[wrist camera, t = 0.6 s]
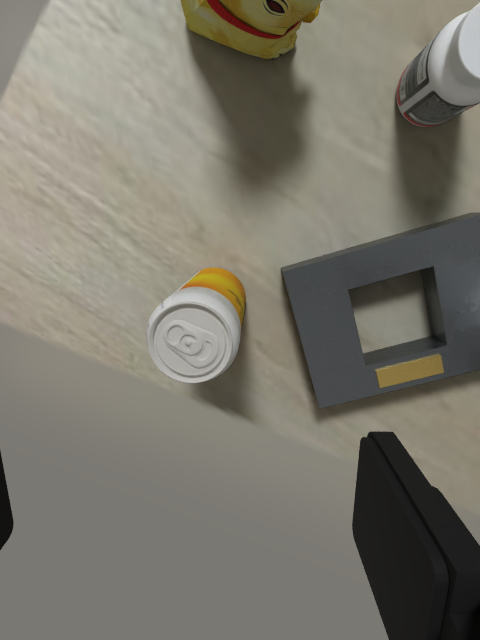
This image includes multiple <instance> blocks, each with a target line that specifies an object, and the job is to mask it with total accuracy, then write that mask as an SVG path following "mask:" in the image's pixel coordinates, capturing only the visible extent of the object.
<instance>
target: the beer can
mask: <svg viewBox="0 0 480 640" xmlns="http://www.w3.org/2000/svg"><path fill="white" fill-rule="evenodd" d="M245 302H246V296H245V291H244V288H243V285H242V284H241V282H240V280H239V279H238V278H237V277H236V276H235V275H234V274H232V273H231V272H229V271H227V270H225V269H221V268H207V269H203V270H201V271H199V272H197V273H196V274H195V275H193V276H192V277H191V278H190V279H189V280H188V281H186V282H185V283H184V284H183V285H182V286H181V287H179V288H178V289H177V290H176V291H175V292H174V293H172V294H171V295H170V296H169V297H168V298H167V299H165V300H164V301H163V302H162V303H161V304H160V305H159V306H158V307H157V308H156V309H155V310H154V312H153V313H152V315H151V317H150V319H149V322H148V326H147V333H146V336H147V345H148V348H149V352H150V355H151V358H152V360H153V361H154V363H155V364H156V366H157V367H158V368H159V369H160V370H161V371H162V372H163V373H164V374H165V375H167V376H168V377H170V378H172V379H174V380H176V381H179V382H184V383H201V382H205V381H207V380H210V379H213V378H215V377H217V376H219V375H221V374H222V373H223V372H225V371H226V370H227V369H228V368H229V367H230V365H231V364H232V363H233V361H234V359H235V358H236V355H237V353H238V349H239V343H240V336H241V330H242V323H243V316H244V309H245Z"/></svg>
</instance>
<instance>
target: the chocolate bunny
mask: <svg viewBox="0 0 480 640" xmlns="http://www.w3.org/2000/svg"><path fill="white" fill-rule="evenodd" d="M321 1H322V0H181V4H182V8H183V11H184V15H185V19H186V22H187V26H188V29H189V30H191V31H193V32H196V33H198V34H200V35H202V36H204V37H207V38H209V39H211V40H213V41H216V42H218V43H221V44H223V45H226V46H228V47H231V48H234V49H236V50H239V51H241V52H244V53H246V54H249V55H253V56H257V57H261V58H264V59H275V58H277V57H279V56H281V55H282V54H284V53H286V52H288V51H289V50H291V49H293V48H294V45H295V42H296V39H297V34H296V31H297V30H298V29H299V28H300V25H301V22H302V20H303V22H306V23H311V22H312V21H313V20H314V19H315V18H316V16H317V15H318V13H319V8H320V2H321Z"/></svg>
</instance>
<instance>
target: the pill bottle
mask: <svg viewBox="0 0 480 640" xmlns="http://www.w3.org/2000/svg"><path fill="white" fill-rule="evenodd" d="M396 98H397V104H398V108H399V110H400V112H401V114H402V115H403V117H404V118H405V119H406V120H407V121H409V122H410V123H412V124H414V125H416V126H419V127H433V126H437V125H440V124H442V123H444V122H446V121H448V120H449V119H451V118H453V117H455V116H457V115H458V114H460V113H462V112H464V111H466V110H468V109H469V108H471V107H473V106H475V105H477V104H479V103H480V3H479V4H478V5H476V6H475V7H474V8H473V9H472V10H471V11H468V12H466V13H463V14H461V15H459V16H458V17H456V18H454V19H453V20H452V21H450V22H449V23H448V24H447V25H446V26H445V27H444V28H443V29H442V30H441V31H440V32H439V33H438V34H437V35H436V36H435V37H434V38H433V39H432V41H431V42H430V43H429V44H428V45H427V46H426V47H425V48H424V49H423V50H422V51H421V52H420V53H419V54H418V55H417V56H416V57H415V58H414V60H413V61H412V62H411V63H410V64H409V65H408V66H407V67H406V69H405V70H404V72H403V73H402V75H401V77H400V80H399V82H398V86H397V93H396Z"/></svg>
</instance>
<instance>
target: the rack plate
mask: <svg viewBox="0 0 480 640" xmlns="http://www.w3.org/2000/svg"><path fill="white" fill-rule="evenodd" d="M281 270H282V274H283V278H284V281H285V285H286V289H287V292H288V296H289V300H290V304H291V307H292V311H293V315H294V318H295V322H296V326H297V329H298V333H299V337H300V341H301V344H302V348H303V352H304V355H305V359H306V363H307V366H308V370H309V374H310V378H311V381H312V385H313V389H314V392H315V396H316V399H317V402H318V405H319V408H325V407H329V406H333V405H337V404H341V403H345V402H349V401H353V400H357V399H362V398H366V397H370V396H374V395H378V394H382V393H386V392H390V391H394V390H399V389H403V388H407V387H411V386H415V385H419V384H423V383H427V382H431V381H436V380H440V379H444V378H448V377H452V376H456V375H460V374H464V373H468V372H473V371H477V370H480V213H468V214H465V215H461V216H458V217H455V218H451V219H448V220H444V221H441V222H437V223H434V224H430V225H427V226H423V227H420V228H417V229H413V230H410V231H406V232H403V233H399V234H396V235H392V236H389V237H385V238H382V239H379V240H375V241H372V242H368V243H365V244H361V245H358V246H354V247H351V248H347V249H344V250H341V251H337V252H334V253H330V254H327V255H323V256H320V257H316V258H313V259H309V260H306V261H303V262H299V263H296V264H292V265H289V266H285V267H282V268H281ZM418 270H421V273H422V278H423V284H424V289H425V295H426V300H427V306H428V311H429V317H430V322H431V328H432V333H433V336H430V337H426V338H422V339H418V340H414V341H411V342H407V343H403V344H399V345H395V346H391V347H387V348H383V349H379V350H375V351H372V352H368V353H364V354H363V352H362V348H361V344H360V339H359V335H358V331H357V326H356V322H355V318H354V313H353V309H352V305H351V300H350V296H349V292H348V290H349V289H353V288H356V287H360V286H363V285H367V284H371V283H374V282H378V281H382V280H385V279H389V278H392V277H396V276H400V275H403V274H407V273H410V272H414V271H418Z"/></svg>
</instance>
